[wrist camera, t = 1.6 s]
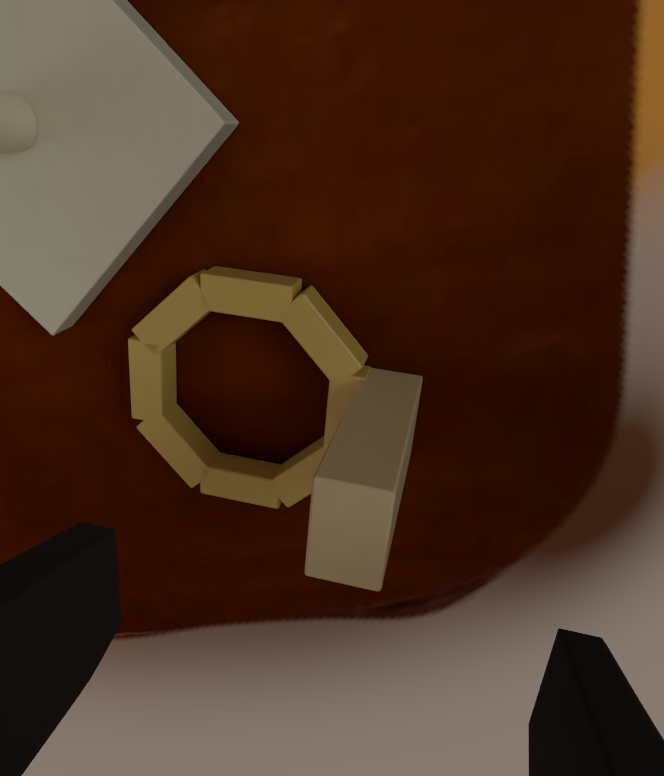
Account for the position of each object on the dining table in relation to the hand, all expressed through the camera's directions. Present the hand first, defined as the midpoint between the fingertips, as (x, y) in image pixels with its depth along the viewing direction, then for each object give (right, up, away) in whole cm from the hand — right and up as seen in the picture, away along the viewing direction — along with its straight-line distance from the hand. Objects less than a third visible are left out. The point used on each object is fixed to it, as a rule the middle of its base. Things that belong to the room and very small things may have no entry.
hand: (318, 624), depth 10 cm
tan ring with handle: (-2, +4, +8) cm, 9 cm away
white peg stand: (-8, +11, +7) cm, 15 cm away
